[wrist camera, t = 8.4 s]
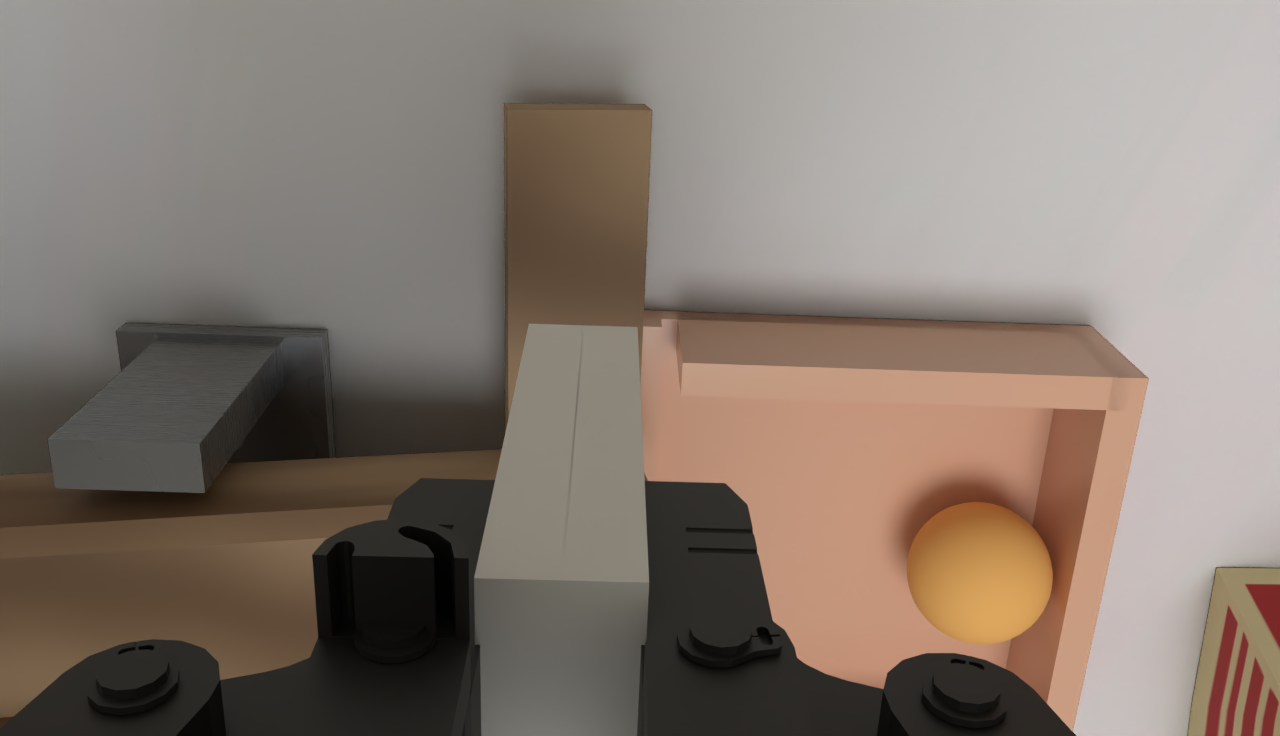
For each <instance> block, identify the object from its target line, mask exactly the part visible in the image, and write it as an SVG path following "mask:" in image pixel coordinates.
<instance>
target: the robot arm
mask: <svg viewBox="0 0 1280 736" xmlns="http://www.w3.org/2000/svg"><path fill="white" fill-rule="evenodd" d="M312 560H313V574H314V587H315V601H316V614H317V628H318V639H317V641H316V644H315V646H314V649H313V651H312V653H311V656H310V658H307V659H305V660H302V661H300V662H297V663H295V664H292V665H290V666H287V667H283V668H279V669H275V670H271V671H267V672H262V673H257V674H251V675H246V676H240V677H235V678H229V679H223V680H220V672H219V663H218V661H217V660H216V659H215V658H214V657H213V656H212V655H211V654H210V653H209V652H208V651H207V650H206V649H205V648H202V647H199V646H196V645H193V644H190V643H187V642H184V641H180V640H159V639H150V640H141V641H138V642H135V641H134V642H129V643H125V644H120V645H117V646H115V647H112V648H109V649H107V650H104V651H101V652H99V653H96V654H93V655H91V656H88V657H87V658H85V659H84V660H82V661H81V662H79V663H78V664H76V665H75V666H73V667H72V668H70V669H69V670H67V671H65V672H64V673H63V674H62V675H60V676H59V677H58V678H57V679H56V680H55V681H54V682H52V683H51V684H50V685H49V686H48V687H47V688H46V689H44V690H43V691H42V692H41V693H40V694H39V695H38V696H36V697H35V698H34V699H33V700H32V701H31V702H30V703H29V704H27V705H26V706H25V707H24V708H23V709H22V710H21V711H19V712H18V713H17V714H16V715H15V716H14V717H13V718H11V719H10V720H9V721H8V722H7V723H6V724H5V725H3V726H2V727H1V728H0V736H1076V735H1075V734H1074V733H1073V732H1072V731H1071V730H1070V728H1069V727H1068V726H1067V725H1066V724H1065V723H1064V722H1063V721H1062V720H1061V719H1060V717H1059V716H1058V715H1057V714H1056V713H1055V712H1054V711H1053V710H1052V709H1051V707H1050V706H1049V705H1048V704H1047V703H1046V702H1045V701H1044V700H1043V699H1042V698H1041V696H1040V695H1039V694H1038V693H1037V692H1036V691H1035V690H1034V689H1033V688H1032V687H1030V686H1029V685H1028V684H1027V683H1025V682H1024V681H1023V680H1022V679H1020V678H1019V677H1018V676H1017V675H1015V674H1014V673H1013V672H1011V671H1009V670H1007V669H1004V668H1002V667H1000V666H998V665H996V664H993V663H991V662H989V661H987V660H984V659H980V658H976V657H973V656H966V655H962V654H957V653H925V654H921V655H918V656H915V657H911V658H908V659H904V660H902V661H901V662H900V663H898V664H897V665H896V666H895V667H894V668H893V669H891V670H890V671H889V672H888V673H887V677H886V681H885V685H884V689H881V688H877V687H873V686H868V685H864V684H860V683H855V682H851V681H847V680H844V679H841V678H837V677H834V676H831V675H828V674H825V673H823V672H821V671H819V670H817V669H815V668H812V667H810V666H808V665H806V664H805V663H803V662H802V661H801V660H799V659H798V658H797V656H796V651H795V647H794V645H793V643H792V642H791V640H790V638H789V636H788V635H787V633H786V631H785V630H784V629H783V628H781V627H780V626H779V625H777V624H776V623H775V622H773V619H772V615H771V610H770V606H769V601H768V596H767V592H766V587H765V583H764V578H763V573H762V569H761V564H760V559H759V555H758V554H757V546H756V541H755V536H754V534H753V527H752V523H751V518H750V513H749V509H748V505H747V504H746V503H745V502H744V501H743V500H742V499H741V498H740V497H739V496H738V495H737V494H736V493H735V492H734V491H733V490H732V489H731V488H730V487H729V486H728V485H727V484H726V483H704V482H667V481H645V479H644V458H643V436H642V414H641V392H640V370H639V348H638V327H621V326H589V325H557V324H529V326H528V331H527V335H526V340H525V344H524V349H523V354H522V358H521V363H520V368H519V372H518V377H517V382H516V386H515V391H514V395H513V400H512V405H511V409H510V414H509V419H508V423H507V428H506V432H505V437H504V442H503V446H502V451H501V456H500V460H499V465H498V470H497V474H496V479H495V480H473V479H436V478H420V479H419V480H418V481H417V482H415V483H414V484H413V485H412V486H410V487H409V488H408V489H407V490H405V491H404V492H403V493H402V494H400V495H399V496H398V497H397V498H395V500H394V503H393V505H392V508H391V510H390V513H389V516H388V518H387V520H377V521H371V522H368V523H364V524H360V525H356V526H353V527H349V528H346V529H344V530H342V531H340V532H339V533H337V534H335V535H333V536H331V537H329V538H327V539H326V540H324V542H323V543H322V544H321V545H320V546H319V547H318V548H317V550H316V551H315V552H314V553H313V554H312Z"/></svg>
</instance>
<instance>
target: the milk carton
mask: <svg viewBox="0 0 1280 736" xmlns="http://www.w3.org/2000/svg"><path fill="white" fill-rule="evenodd" d="M1188 736H1280V568H1217V569H1216V574H1215V580H1214V585H1213V591H1212V596H1211V602H1210V607H1209V613H1208V618H1207V624H1206V629H1205V634H1204V640H1203V645H1202V651H1201V656H1200V662H1199V667H1198V673H1197V678H1196V684H1195V689H1194V695H1193V700H1192V706H1191V714H1190V721H1189V729H1188Z"/></svg>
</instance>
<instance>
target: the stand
mask: <svg viewBox="0 0 1280 736" xmlns="http://www.w3.org/2000/svg"><path fill="white" fill-rule="evenodd" d="M116 336H117V344H118V351H119V358H120V366H121V372H120V373H119V374H118V375H117V376H116V377H115V378H114V379H113V380H111V381H110V382H109V383H108V384H107V385H106V386H105V387H104V388H103V389H102V390H100V391H99V392H98V393H97V394H96V395H95V396H94V397H93V398H92V399H91V400H90V401H88V402H87V403H86V404H85V405H84V406H83V407H82V408H81V409H80V410H79V411H77V412H76V413H75V414H74V415H73V416H72V417H71V418H70V419H69V420H68V421H67V422H65V423H64V424H63V425H62V426H61V427H60V428H59V429H58V430H57V431H56V432H54V433H53V434H52V435H51V436H50V437H49V438H48V439H47V440H48V446H49V452H50V458H51V465H52V471H53V477H54V483H55V488H59V489H91V490H123V491H155V492H187V493H205V492H206V491H207V490H208V488H209V487H210V485H211V484H212V483H213V481H214V480H215V479H216V477H217V476H218V474H219V473H220V472H221V470H222V469H223V467H224V466H225V465H226V463H245V462H264V461H284V460H303V459H323V458H336V455H335V439H334V424H333V408H332V392H331V376H330V361H329V345H328V330H321V329H292V328H263V327H233V326H204V325H175V324H146V323H125V324H124V325H122V326H121V327H120V328H119V329H118V330H116Z"/></svg>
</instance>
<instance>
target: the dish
mask: <svg viewBox="0 0 1280 736" xmlns="http://www.w3.org/2000/svg"><path fill="white" fill-rule="evenodd" d="M1148 380H1149V378H1148V377H1147V376H1146V375H1144V374H1143V373H1142V372H1141V371H1140V370H1139V369H1138V368H1137V367H1136V366H1135V365H1134V364H1132V363H1131V362H1130V361H1129V360H1128V359H1127V358H1126V357H1125V356H1124V355H1123V354H1121V353H1120V352H1119V351H1118V350H1117V349H1116V348H1115V347H1114V346H1113V345H1112V344H1111V343H1109V342H1108V341H1107V340H1106V339H1105V338H1104V337H1103V336H1102V335H1101V334H1100V333H1099V332H1097V331H1096V330H1095V329H1094V328H1093V327H1092V326H1081V325H1052V324H1023V323H994V322H966V321H937V320H908V319H879V318H850V317H822V316H793V315H764V314H735V313H706V312H678V311H649V310H644V318H643V342H642V365H641V389H640V392H641V414H642V436H643V458H644V473H645V475H646V477H647V480H648V481H667V482H704V483H726V484H727V485H728V486H729V487H730V488H731V489H732V490H733V491H734V492H735V493H736V494H737V495H738V496H739V497H740V498H741V499H742V500H743V501H744V502H745V503H746V504H747V505H748V509H749V513H750V518H751V523H752V527H753V534H754V536H755V541H756V546H757V554H758V555H759V559H760V564H761V569H762V573H763V578H764V583H765V587H766V592H767V596H768V601H769V606H770V610H771V615H772V619H773V622H775V623H776V624H777V625H779V626H780V627H781V628H783V629H784V630H785V631H786V633H787V635H788V636H789V638H790V640H791V642H792V643H793V645H794V647H795V651H796V656H797V658H798V659H799V660H801V661H802V662H803V663H805V664H806V665H808V666H810V667H812V668H815V669H817V670H819V671H821V672H823V673H825V674H828V675H831V676H834V677H837V678H841V679H844V680H847V681H851V682H855V683H860V684H864V685H868V686H873V687H877V688H881V689H884V685H885V681H886V677H887V673H888V672H889V671H890V670H891V669H893V668H894V667H895V666H896V665H897V664H898V663H900V662H901V661H902V660H904V659H908V658H911V657H915V656H918V655H921V654H925V653H957V654H962V655H966V656H973V657H976V658H980V659H984V660H987V661H989V662H991V663H993V664H996V665H998V666H1000V667H1002V668H1004V669H1007V670H1009V671H1011V672H1013V673H1014V674H1015V675H1017V676H1018V677H1019V678H1020V679H1022V680H1023V681H1024V682H1025V683H1027V684H1028V685H1029V686H1030V687H1032V688H1033V689H1034V690H1035V691H1036V692H1037V693H1038V694H1039V695H1040V696H1041V698H1042V699H1043V700H1044V701H1045V702H1046V703H1047V704H1048V705H1049V706H1050V707H1051V709H1052V710H1053V711H1054V712H1055V713H1056V714H1057V715H1058V716H1059V717H1060V719H1061V720H1062V721H1063V722H1064V723H1065V724H1066V725H1067V726H1068V727H1069V728H1070V730H1071V731H1072V732H1073V728H1074V723H1075V718H1076V714H1077V709H1078V705H1079V700H1080V695H1081V691H1082V686H1083V681H1084V677H1085V672H1086V668H1087V663H1088V658H1089V654H1090V649H1091V644H1092V640H1093V635H1094V630H1095V626H1096V621H1097V617H1098V612H1099V607H1100V603H1101V598H1102V593H1103V589H1104V584H1105V580H1106V575H1107V570H1108V566H1109V561H1110V556H1111V552H1112V547H1113V542H1114V538H1115V533H1116V529H1117V524H1118V519H1119V515H1120V510H1121V505H1122V501H1123V496H1124V492H1125V487H1126V482H1127V478H1128V473H1129V468H1130V464H1131V459H1132V454H1133V450H1134V445H1135V441H1136V436H1137V431H1138V427H1139V422H1140V417H1141V413H1142V408H1143V403H1144V399H1145V394H1146V390H1147V385H1148ZM969 502H985V503H990V504H995V505H998V506H1002V507H1004V508H1007V509H1009V510H1011V511H1013V512H1015V513H1016V514H1018V515H1019V516H1021V517H1022V518H1024V519H1025V520H1026V521H1027V522H1028V523H1029V524H1030V525H1031V526H1032V527H1033V528H1034V529H1035V530H1036V531H1037V533H1038V534H1039V535H1040V537H1041V538H1042V540H1043V542H1044V543H1045V545H1046V548H1047V550H1048V552H1049V556H1050V559H1051V564H1052V571H1053V582H1052V590H1051V594H1050V598H1049V600H1048V603H1047V605H1046V607H1045V609H1044V611H1043V613H1042V614H1041V615H1040V617H1039V618H1038V619H1037V621H1036V622H1035V623H1034V624H1033V625H1032V626H1031V627H1030V628H1028V629H1027V630H1026V631H1024V632H1023V633H1022V634H1020V635H1018V636H1016V637H1014V638H1012V639H1010V640H1007V641H1004V642H1000V643H994V644H972V643H966V642H962V641H959V640H957V639H954V638H952V637H949V636H948V635H946V634H944V633H942V632H941V631H939V630H938V629H936V628H935V627H934V626H933V625H932V624H931V623H930V622H929V621H928V620H927V619H926V618H925V617H924V616H923V615H922V613H921V612H920V611H919V609H918V608H917V606H916V604H915V602H914V600H913V598H912V595H911V592H910V589H909V585H908V580H907V560H908V555H909V551H910V548H911V545H912V543H913V540H914V538H915V537H916V535H917V533H918V532H919V530H920V529H921V528H922V527H923V525H924V524H925V523H926V522H927V521H928V520H930V519H931V518H932V517H933V516H934V515H936V514H937V513H939V512H941V511H942V510H944V509H946V508H949V507H951V506H954V505H958V504H962V503H969Z"/></svg>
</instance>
